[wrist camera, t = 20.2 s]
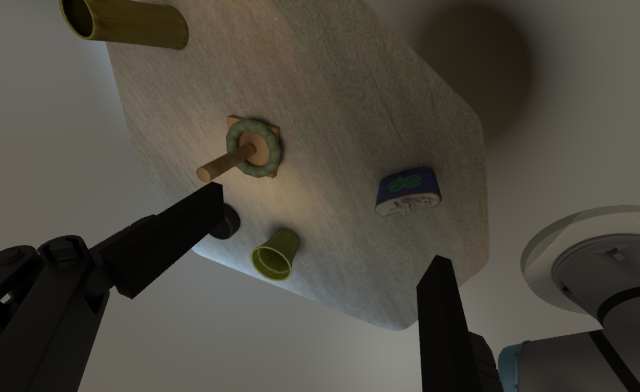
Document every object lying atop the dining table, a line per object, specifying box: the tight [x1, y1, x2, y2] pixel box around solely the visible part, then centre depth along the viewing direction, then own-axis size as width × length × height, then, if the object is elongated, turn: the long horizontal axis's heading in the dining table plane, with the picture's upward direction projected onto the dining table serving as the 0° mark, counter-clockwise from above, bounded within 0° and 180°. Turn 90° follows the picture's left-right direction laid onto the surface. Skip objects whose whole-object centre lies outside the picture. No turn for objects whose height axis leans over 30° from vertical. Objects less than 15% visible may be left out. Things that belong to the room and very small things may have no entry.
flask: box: [375, 167, 442, 216], centre depth 36 cm, size 9×3×11 cm, turn 115°
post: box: [196, 115, 280, 183], centre depth 40 cm, size 10×10×14 cm
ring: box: [226, 119, 281, 178], centre depth 44 cm, size 11×11×2 cm
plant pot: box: [251, 229, 299, 281], centre depth 52 cm, size 9×9×9 cm
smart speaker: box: [209, 205, 239, 240], centre depth 57 cm, size 9×9×4 cm
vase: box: [59, 0, 188, 50], centre depth 34 cm, size 6×6×14 cm
